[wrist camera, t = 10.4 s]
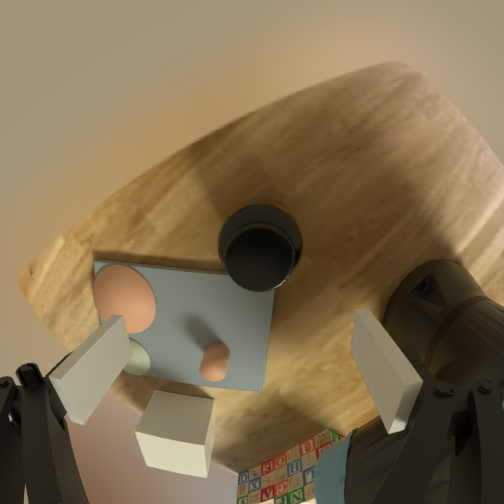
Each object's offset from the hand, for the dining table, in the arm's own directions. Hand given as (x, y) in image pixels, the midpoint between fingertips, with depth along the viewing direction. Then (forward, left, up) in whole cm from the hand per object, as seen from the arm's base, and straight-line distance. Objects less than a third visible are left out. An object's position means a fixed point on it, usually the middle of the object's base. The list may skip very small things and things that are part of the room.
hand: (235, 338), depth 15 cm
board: (+8, +10, -17) cm, 21 cm away
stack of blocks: (-10, +37, -17) cm, 42 cm away
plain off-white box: (+8, +26, -17) cm, 32 cm away
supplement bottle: (-1, -3, -17) cm, 17 cm away
